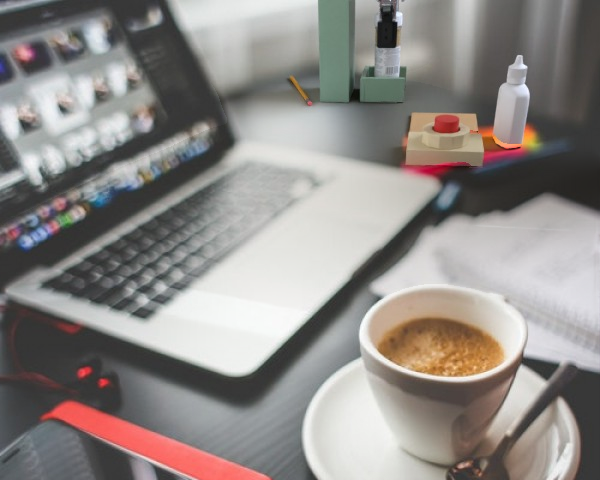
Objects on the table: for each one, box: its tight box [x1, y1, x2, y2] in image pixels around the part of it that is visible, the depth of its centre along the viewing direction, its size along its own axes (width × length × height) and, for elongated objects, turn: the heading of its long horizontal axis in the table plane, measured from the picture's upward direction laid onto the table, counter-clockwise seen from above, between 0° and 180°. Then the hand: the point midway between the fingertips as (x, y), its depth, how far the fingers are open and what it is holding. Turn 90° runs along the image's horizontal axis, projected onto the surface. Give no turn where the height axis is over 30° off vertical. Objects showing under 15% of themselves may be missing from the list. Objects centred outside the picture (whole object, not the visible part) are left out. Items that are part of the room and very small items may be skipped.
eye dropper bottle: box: [492, 54, 531, 145], centre depth 86 cm, size 4×6×12 cm
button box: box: [405, 122, 485, 167], centre depth 85 cm, size 10×7×4 cm
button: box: [434, 115, 459, 133], centre depth 84 cm, size 3×3×2 cm
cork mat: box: [409, 112, 479, 132], centre depth 96 cm, size 10×10×1 cm
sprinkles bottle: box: [373, 11, 404, 77], centre depth 107 cm, size 5×5×13 cm
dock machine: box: [317, 0, 408, 103], centre depth 106 cm, size 14×9×19 cm, turn 79°
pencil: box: [289, 75, 313, 107], centre depth 115 cm, size 19×1×1 cm, turn 11°
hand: (387, 42), depth 106 cm, fingers closed on sprinkles bottle, 4 cm apart
